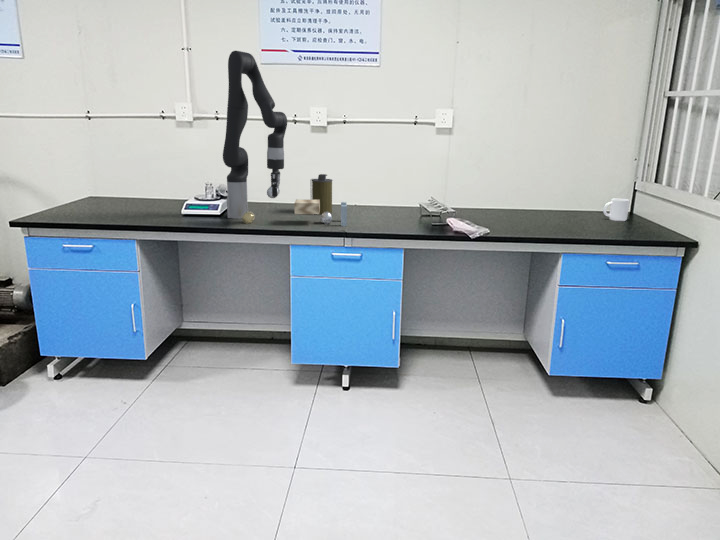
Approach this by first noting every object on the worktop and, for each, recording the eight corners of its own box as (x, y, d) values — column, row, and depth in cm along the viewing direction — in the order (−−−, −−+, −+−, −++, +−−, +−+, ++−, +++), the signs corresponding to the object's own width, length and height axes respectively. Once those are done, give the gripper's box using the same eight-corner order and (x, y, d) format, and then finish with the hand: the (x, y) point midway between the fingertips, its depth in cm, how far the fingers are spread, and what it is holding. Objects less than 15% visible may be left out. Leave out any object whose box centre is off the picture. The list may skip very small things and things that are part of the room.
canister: (333, 212, 288) (333, 173, 282) (330, 216, 278) (330, 175, 272) (313, 212, 289) (312, 173, 283) (309, 215, 279) (308, 175, 273)
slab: (294, 214, 250) (294, 203, 249) (296, 210, 262) (296, 199, 261) (319, 214, 251) (319, 203, 250) (319, 210, 262) (319, 199, 261)
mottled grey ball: (267, 186, 249) (279, 188, 250) (269, 184, 255) (280, 186, 256) (266, 197, 251) (277, 199, 251) (267, 195, 257) (278, 197, 257)
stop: (341, 225, 252) (341, 206, 249) (340, 220, 265) (341, 201, 263) (346, 226, 252) (347, 206, 249) (346, 220, 265) (346, 201, 263)
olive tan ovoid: (239, 217, 253) (248, 211, 252) (241, 215, 258) (250, 209, 258) (247, 226, 254) (255, 219, 253) (249, 223, 260) (257, 217, 259)
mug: (605, 220, 277) (608, 200, 274) (598, 218, 285) (601, 198, 282) (629, 221, 277) (632, 200, 274) (622, 218, 285) (625, 198, 282)
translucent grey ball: (330, 212, 254) (333, 222, 255) (330, 210, 260) (333, 220, 261) (319, 215, 254) (322, 225, 255) (319, 213, 260) (322, 223, 261)
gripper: (269, 156, 256) (269, 193, 260) (265, 158, 242) (265, 197, 247) (285, 157, 256) (285, 193, 261) (282, 159, 242) (282, 198, 247)
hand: (275, 195), depth 254 cm, fingers closed on mottled grey ball, 5 cm apart
